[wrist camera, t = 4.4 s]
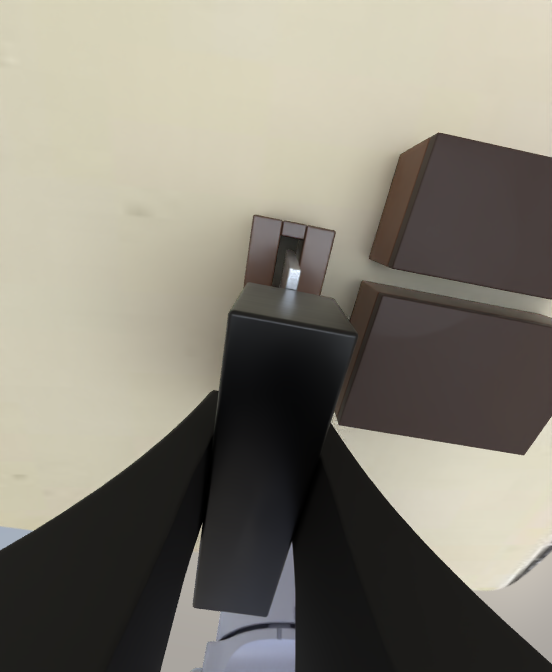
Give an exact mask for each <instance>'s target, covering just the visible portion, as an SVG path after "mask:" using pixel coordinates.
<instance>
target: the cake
mask: <svg viewBox="0 0 552 672" xmlns="http://www.w3.org/2000/svg"><path fill="white" fill-rule="evenodd" d="M350 323H351V324H352V326H353V327H354V329H355V330H356V331H357V333H358V339H357V342H356V345H355V349H354V352H353V355H352V358H351V361H350V364H349V367H348V370H347V373H346V376H345V379H344V382H343V386H342V389H341V392H340V395H339V398H338V401H337V404H336V407H335V413H336V417H337V421H338V424H339V425H342V426H348V427H354V428H360V429H366V430H372V431H378V432H384V433H390V434H397V435H403V436H409V437H415V438H421V439H427V440H433V441H439V442H445V443H451V444H458V445H464V446H470V447H476V448H482V449H488V450H494V451H500V452H506V453H513V454H519V455H525V453H526V452H527V451H528V449H529V448H530V446H531V445H532V443H533V442H534V441H535V439H536V438H537V436H538V435H539V434H540V432H541V431H542V429H543V428H544V426H545V425H546V424H547V422H548V421H549V419H550V418H551V417H552V318H550V317H547V316H544V315H541V314H535V313H530V312H525V311H520V310H514V309H509V308H504V307H499V306H494V305H488V304H483V303H478V302H473V301H467V300H462V299H457V298H452V297H446V296H441V295H436V294H431V293H426V292H420V291H415V290H410V289H405V288H399V287H394V286H389V285H384V284H378V283H373V282H368V281H362V283H361V286H360V289H359V293H358V296H357V299H356V303H355V306H354V309H353V312H352V316H351V319H350Z"/></svg>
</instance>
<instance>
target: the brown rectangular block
mask: <svg viewBox="0 0 552 672" xmlns="http://www.w3.org/2000/svg"><path fill="white" fill-rule="evenodd" d="M369 259H371V260H373V261H375V262H378V263H380V264H383V265H385V266H387V267H390V268H392V269H397V270H402V271H407V272H413V273H418V274H423V275H428V276H433V277H438V278H443V279H449V280H454V281H459V282H464V283H469V284H474V285H479V286H485V287H490V288H495V289H500V290H505V291H510V292H515V293H521V294H526V295H531V296H536V297H541V298H546V299H552V157H547V156H543V155H538V154H534V153H529V152H525V151H520V150H516V149H511V148H507V147H502V146H497V145H493V144H488V143H484V142H479V141H475V140H470V139H466V138H461V137H457V136H452V135H448V134H443V133H437V134H435V135H433V136H432V137H430V138H428V139H426V140H424V141H423V142H421V143H419V144H417V145H416V146H414V147H412V148H411V149H409V150H407V151H405V152H404V153H402V154H401V155H400V158H399V161H398V165H397V168H396V171H395V174H394V178H393V181H392V184H391V188H390V191H389V194H388V197H387V201H386V204H385V207H384V211H383V214H382V217H381V220H380V224H379V227H378V230H377V233H376V237H375V240H374V243H373V247H372V250H371V253H370V256H369Z"/></svg>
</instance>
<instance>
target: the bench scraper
mask: <svg viewBox="0 0 552 672" xmlns="http://www.w3.org/2000/svg"><path fill="white" fill-rule="evenodd" d="M300 275H301V269H300V266H299V263H298V261H297V258H296V256H295V253H294V251H293V250H290V249H287V250H286V255H285V260H284V265H283V270H282V276H281V281H280V286H279V288H277V287H272V286H267V285H261V284H256V283H251V282H249V283H247V284H246V285H245V287H244V289H243V290H242V292H241V293H240V295H239V297H238V298H237V300H236V302H235V303H234V305H233V307H232V308H231V310H230V312H229V313H228V320H227V328H226V337H225V345H224V353H223V361H222V369H221V377H220V386H219V394H218V402H217V410H216V418H215V426H214V435H213V443H212V451H211V459H210V467H209V475H208V484H207V492H206V500H205V508H204V516H203V524H202V532H201V541H200V549H199V557H198V565H197V573H196V581H195V590H194V598H193V607H194V608H199V609H206V610H214V611H222V612H230V613H237V614H245V615H253V616H260V617H267V616H268V614H269V611H270V608H271V605H272V602H273V598H274V595H275V592H276V589H277V586H278V583H279V580H280V577H281V574H282V571H283V568H284V564H285V561H286V558H287V555H288V552H289V549H290V546H291V543H292V540H293V537H294V534H295V531H296V527H297V524H298V521H299V518H300V515H301V512H302V509H303V506H304V503H305V500H306V497H307V494H308V490H309V487H310V484H311V481H312V478H313V475H314V472H315V469H316V466H317V463H318V460H319V457H320V453H321V450H322V447H323V444H324V441H325V438H326V435H327V432H328V429H329V426H330V423H331V420H332V416H333V413H334V410H335V407H336V404H337V401H338V398H339V395H340V392H341V389H342V386H343V382H344V379H345V376H346V373H347V370H348V367H349V364H350V361H351V358H352V355H353V352H354V349H355V345H356V342H357V339H358V333H357V331H356V330H355V329H354V327H353V326H352V324H351V323H350V321H349V320H348V318H347V317H346V315H345V314H344V312H343V311H342V309H341V308H340V306H339V305H338V304H337V302H336V301H335V299H333V298H331V297H325V296H320V295H315V294H309V293H304V292H299V291H297V289H298V284H299V279H300Z"/></svg>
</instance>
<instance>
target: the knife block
mask: <svg viewBox="0 0 552 672" xmlns="http://www.w3.org/2000/svg"><path fill="white" fill-rule="evenodd" d="M335 234H336V232H335V231H334V230H330V229H325V228H320V227H315V226H310V225H305V224H300V223H295V222H290V221H282V220H280V219H274V218H269V217H264V216H259V215H254V216H253V222H252V229H251V236H250V243H249V250H248V258H247V265H246V272H245V279H244V286H243V289H244V287H245V285H246V284H247V283H249V282H251V283H256V284H261V285H267V286H272V281H273V276H274V270H275V264H276V259H277V253H278V248H279V242H280V236H281V235H282V236H286V237H291V238H296V239H299V241H298V246H297V251H296V255H295V256H296V258H297V261H298V263H299V266H300V269H301V275H300V279H299V284H298V289H297V291H299V292H304V293H309V294H315V295H320V294H321V290H322V286H323V282H324V278H325V274H326V270H327V266H328V262H329V258H330V254H331V250H332V246H333V242H334V238H335Z"/></svg>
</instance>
